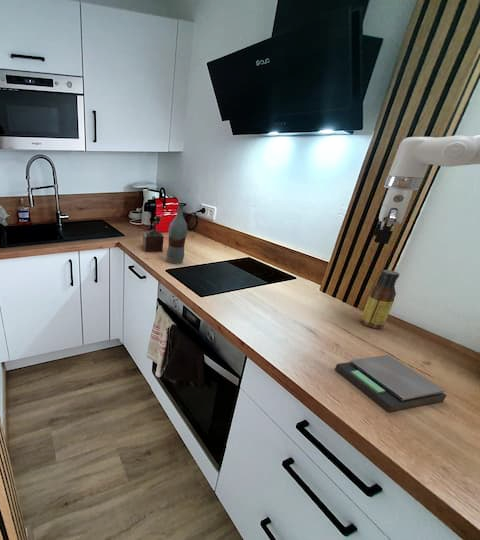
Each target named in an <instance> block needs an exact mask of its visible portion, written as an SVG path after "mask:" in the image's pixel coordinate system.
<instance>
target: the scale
mask: <svg viewBox="0 0 480 540" xmlns="http://www.w3.org/2000/svg"><path fill="white" fill-rule="evenodd" d="M334 371H336V372H337V373H339V375H340V376H342V377H343V378H344V379H346V380H347V381H348V382H349V383H350V384H352V385H353V386H354V387H356V389H358V390H360V391H361V392H362V393H363V394H365V395H366V396H367V397H368V398H369V399H370V400H372V401H373V402H374V403H376V405H379V407H380V408H382V409H383V410H384V411H385V412H387V413H391V412H397V411H402V410H407V409H412V408H416V407H423V406H427V405H431V404H437V403H441V402H444V401H445V399H446V397H447V396H448V395H447V394H446V393H445V392H444V393H440V394H435V395H430V396H425V397H419V398H414V399H409V400H404V401H401V400H400V399H399V398H397V397H396V396H394V395H393V394H392V393H390V392H389V391H388V390H386V389H385V388H384V387H382V386H381V385H379V384H378V383H377V382H375V381H374V380H373V379H371V378H370V377H369V376H367V375H366V374H364V373H363V372H362V371H360V370H359V369H358V368H356V367H355V366H354V365H352V364H351V363H350V361H348V362H342V363H337V364H336V365H335V368H334Z"/></svg>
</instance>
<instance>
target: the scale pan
mask: <svg viewBox="0 0 480 540" xmlns="http://www.w3.org/2000/svg"><path fill="white" fill-rule="evenodd" d="M349 362H350V363H351V364H352V365H354V366H355V367H356V368H358V369H359V370H360V371H362V372H363V373H364V374H366V375H367V376H369V377H370V378H371V379H373V380H374V381H375V382H377V383H378V384H379V385H381V386H382V387H384V388H385V389H386V390H388V391H389V392H390V393H392V394H393V395H394V396H396V397H397V398H399V399H400V400H401V401H404V400H409V399H414V398H419V397H425V396H430V395H435V394H440V393H444V394H445V391H446V390H445V389H444V388H442V387H441V386H439V385H438V384H435V383H434V382H433V381H431V380H429V379H428V378H426V377H425V376H423V375H421V374H420V373H418V372H417V371H415V370H413V369H412V368H410V367H408V366H407V365H405V363H404V364H403V363H402V362H400V361H399V360H397V359H396V358H394V357H393V356H390V354H383V355H378V356H370V357H363V358H357V359H356V358H355V359H350V361H349Z"/></svg>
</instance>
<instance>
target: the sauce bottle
mask: <svg viewBox="0 0 480 540" xmlns="http://www.w3.org/2000/svg"><path fill="white" fill-rule="evenodd" d="M398 278H400V273H399V272H397V271H395V270H391V269H383V270H382V272H381V277H380V280H379V281H378V283H376V284H375V285H374V286H373V287H372V289H371V290H370V294H369V296H368V298H367V301H366V304H365V307H364V309H363V312H362V314H361V320H360V321H361V323H362V325H365V326H366V327H369V328H371V329H377V330H378V329H382V328H384V326H385V324H386V323H387V319H388V317H389V314H390V311H391V310H392V307H393V304H394V302H395V298H396V295H397V293H396V288H395V285H396V283H397V280H398Z"/></svg>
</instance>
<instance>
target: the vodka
mask: <svg viewBox="0 0 480 540" xmlns="http://www.w3.org/2000/svg"><path fill="white" fill-rule="evenodd" d="M183 213H184V203H177V213H176V216H175V217H174V218H173V219H172V221H171V222H170V224H169V227H168V245H167V248H166V253H165V254H166V255H165V256H166V262H167V263H169V264H171V265H180V264H182V263H183V261H184V258H185V244H186V239H187V234H188V223H187V222H186V219H185V217H184V214H183Z"/></svg>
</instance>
